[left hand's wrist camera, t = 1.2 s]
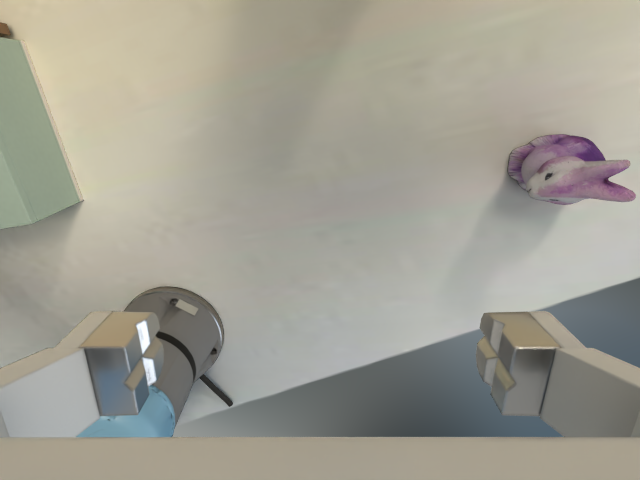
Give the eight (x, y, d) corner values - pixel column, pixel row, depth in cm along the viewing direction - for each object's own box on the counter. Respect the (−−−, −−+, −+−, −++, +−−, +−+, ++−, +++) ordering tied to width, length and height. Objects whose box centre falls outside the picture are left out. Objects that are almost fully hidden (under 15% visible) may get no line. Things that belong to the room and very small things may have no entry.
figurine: (487, 168, 54) (547, 196, 40) (554, 111, 51) (642, 120, 37) (528, 217, 56) (598, 260, 42) (594, 165, 54) (691, 192, 40)
